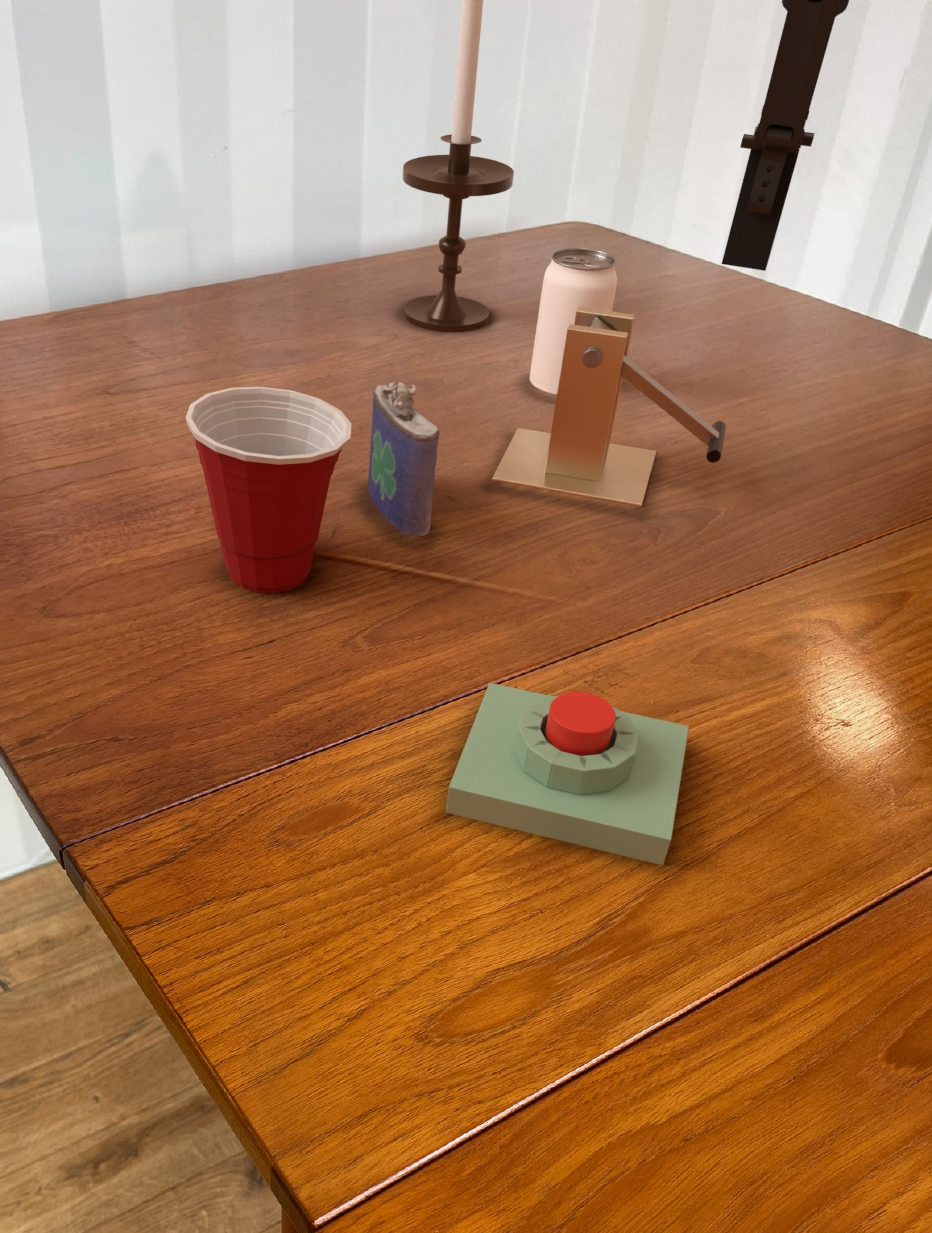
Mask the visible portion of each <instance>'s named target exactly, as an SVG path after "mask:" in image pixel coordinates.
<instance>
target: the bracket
mask: <svg viewBox="0 0 932 1233" xmlns="http://www.w3.org/2000/svg"><path fill="white" fill-rule="evenodd" d="M595 317H597V318H598V319H600V320H601V321H602V322H603V323H604V324H606V325H607V326H608V327H609V328H611V329H612V330H606V329H599V328H592V327H588V326H589V324H590V323H591V322H592V321H593V319H594V318H595ZM635 318H636V314H633V313H625V312H620V311H619V312H618V311H613V310H612V311H605V310H598V309H591V308H584V307H578V309H577V311H576V317H575V323H574V325H572V324H570V325H569V327H568V329H567V335H566V341H565V348H564V354H563V360H562V367H561V373H560V379H559V385H558V392H557V394H556V398H555V405H554V410H553V418H552V424H551V431H550V432H545V431H539V430H532V429H527V428H521V427H517V428H516V430H515V432H514V434H513V436H512V438H511V439H510V442H509V444H508V446H507V448H506V450H505V451H504V453H503V456H502V458H501V459H500V462H499V464H498V466H497V468H496V469H495V472H494V474H493V476H492V478H491V481H492V482H497V483H503V484H509V485H513V486H514V485H515V486H520V487H526V488H531V489H536V490H542V491H548V492H554V493H559V494H560V493H561V494H565V495H570V496H577V497H582V498H587V499H593V500H598V501H599V500H600V501H605V502H610V503H616V504H622V505H628V506H632V507H637V508H643V507H642V506H643V503H644V501H645V500H644V499H645V496H646V492H647V489H648V486H649V481H650V477H651V473H652V470H653V466H654V463H655V459H656V455H657V450H654V449H647V448H641V447H634V446H629V445H624V444H617V443H611V439H612V436H613V435H612V434H613V430H614V424H615V420H616V414H617V409H618V404H619V400H620V395H621V388H622V384H623V379H624V378H623V377H622V376H621V375H620V373H621V368H622V363H623V358H624V355H625V356H626V357H627V358H628V353H629V349H630V344H631V338H632V334H633V328H634V323H635Z"/></svg>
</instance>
